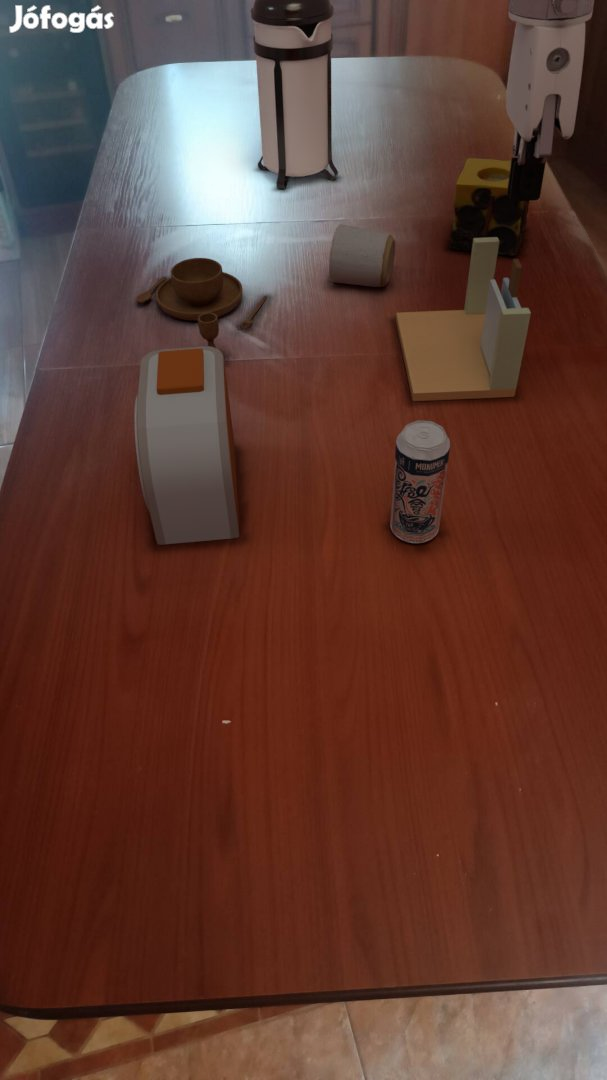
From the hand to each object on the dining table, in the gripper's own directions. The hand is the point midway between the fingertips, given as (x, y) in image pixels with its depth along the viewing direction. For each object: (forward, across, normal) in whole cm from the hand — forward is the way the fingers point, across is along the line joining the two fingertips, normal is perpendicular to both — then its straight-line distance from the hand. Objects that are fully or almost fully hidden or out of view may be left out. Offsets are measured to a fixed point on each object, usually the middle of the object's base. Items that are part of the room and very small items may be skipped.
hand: (523, 197), depth 86 cm
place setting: (+19, +12, +40) cm, 45 cm away
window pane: (+18, -4, +1) cm, 18 cm away
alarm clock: (+19, -23, +37) cm, 47 cm away
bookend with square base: (+19, 0, +6) cm, 20 cm away
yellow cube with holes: (+20, +31, -4) cm, 37 cm away
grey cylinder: (+19, +21, +16) cm, 32 cm away
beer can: (+19, -30, +15) cm, 39 cm away
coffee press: (+19, +60, +24) cm, 67 cm away
